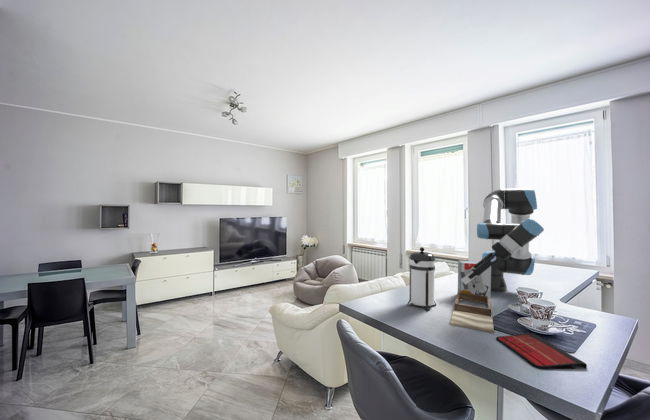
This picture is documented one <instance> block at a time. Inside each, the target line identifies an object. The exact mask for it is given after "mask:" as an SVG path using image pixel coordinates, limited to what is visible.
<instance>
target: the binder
mask: <svg viewBox="0 0 650 420" xmlns="http://www.w3.org/2000/svg"><path fill="white" fill-rule="evenodd" d="M495 340H496V341H497V342H499V343H500V344H503V345H504V346H506V347H507V348H508V349H510V350H511V351H513V352H514V353H516V354H517V355H518V356H520V357H521V358H523V359H524V360H525V361H526V362H527V363H528V364H529V365H531V367H534V368H535V369H541V370H576V369H577V370H578V368H576V367H573V366H580V367H582V368H584V369H587V366H588V365H587V363H586V362H584V361H582V360H581V359H579V358H577V357H575V356H573V355H571V354H570V353H568V352H566V351H565V350H563V349H561V348H560V347H558V346H557V345H555V344H552V343H551V342H549V341H548V340H545V339H543V338H542V337H540V336H539V335H536V334H535V332H532V333H521V334H511V335H501V336H500V335H498V336H496V337H495Z"/></svg>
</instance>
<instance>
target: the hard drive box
mask: <svg viewBox="0 0 650 420" xmlns="http://www.w3.org/2000/svg"><path fill="white" fill-rule="evenodd" d="M457 261H458V262H457V265H458V267H457V293H458V292H459V293H466V294H474V295H481V296H488V297H490V298H491V266H490V267H489V268H488V269H486V270H485V271H484V272H483V273H482V274H481V278H482V282H483V286H484V289H481V290H476V291H469V290H465V289H464V286H463V282H462V281H461V279H462V278H461V274H460V272H464V270H468V269H471V268H472V267H474V266H475V264H477V263H478V262H479V261H476V260H460V259H459V260H457Z"/></svg>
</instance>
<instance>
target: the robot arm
mask: <svg viewBox="0 0 650 420" xmlns="http://www.w3.org/2000/svg"><path fill="white" fill-rule="evenodd" d="M535 191H536V190H535V189H534V188H528V187H527V188H526V187H521V188H518V187H517V188H500V189H496V190H494V191H492V192H490V193H488V195H486V196H485V198H484V199H483V203H482V205H483V209H484V211H483V219H482V222H479V223H477V224H476V237H477V238H478V239H483V240H497V242H496V243H494V244H492V246H491V249H492V250H489V251H484V252H483V253H482V254H481V256H482V258H481V260H479V261H477V262H478V263H477V264H475V266H474V267H472V268H471V269H472V271H471V272H470V273H469V274H467V275H466V276H465V277H464V278H462V279H461V281H462V282H463V283H464V284H465V285H466V284H467V283H469V282H470V281H471V280H473V279H474V278H475V277H477V276H478V275H481V274H482V273H483V272H484V271H485V270H486V269H488V268H489V267H490V266H491V291H493V292H506V291H507V290H508V286H507V283H506V280H505V278H504V274H513V275H521V276H531V275H532V274H533V273H534V270H535V263H536V262H535V259H536V258H535V256H533V255H532V253H531V252H530V250H529V249H530V243H531V242H532V241H533V240H534V239H536V238H537V237H538V236H540V235H541V234H542V233H543V232H544V231H545V230H544V229H545V228H544V227H543V226H542V225H541V224H540V223H539V222H538V221H536V220H535V219H533V218H531V215H532V214H534V211H535V210H538V203H537V202H538V201H537V197H536V196H537V195H536V192H535ZM502 210H508V213H509V214H510V215H511V223H501V217H502V216H501V215H502V214H501V213H502ZM498 240H499V241H498ZM474 269H475V270H474ZM491 291H490V292H491Z"/></svg>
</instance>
